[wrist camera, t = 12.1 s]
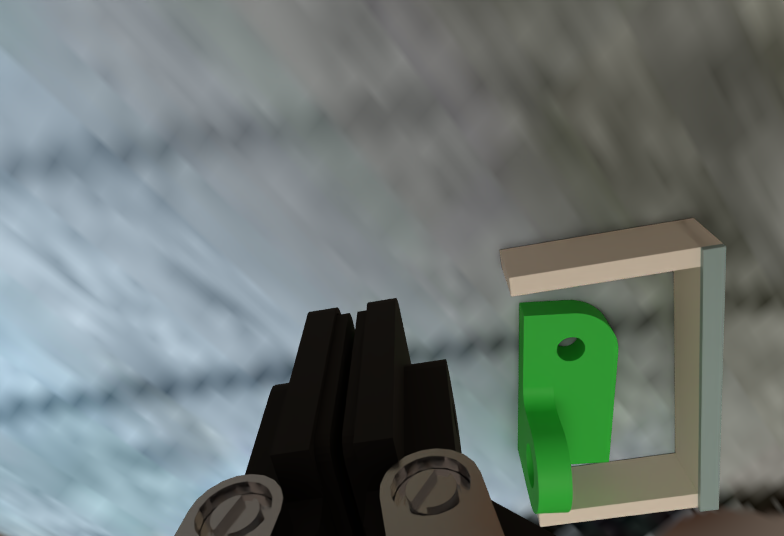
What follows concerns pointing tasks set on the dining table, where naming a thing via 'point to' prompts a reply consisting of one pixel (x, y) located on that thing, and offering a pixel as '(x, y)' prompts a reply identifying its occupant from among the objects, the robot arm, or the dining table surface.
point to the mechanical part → (563, 396)
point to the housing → (691, 352)
